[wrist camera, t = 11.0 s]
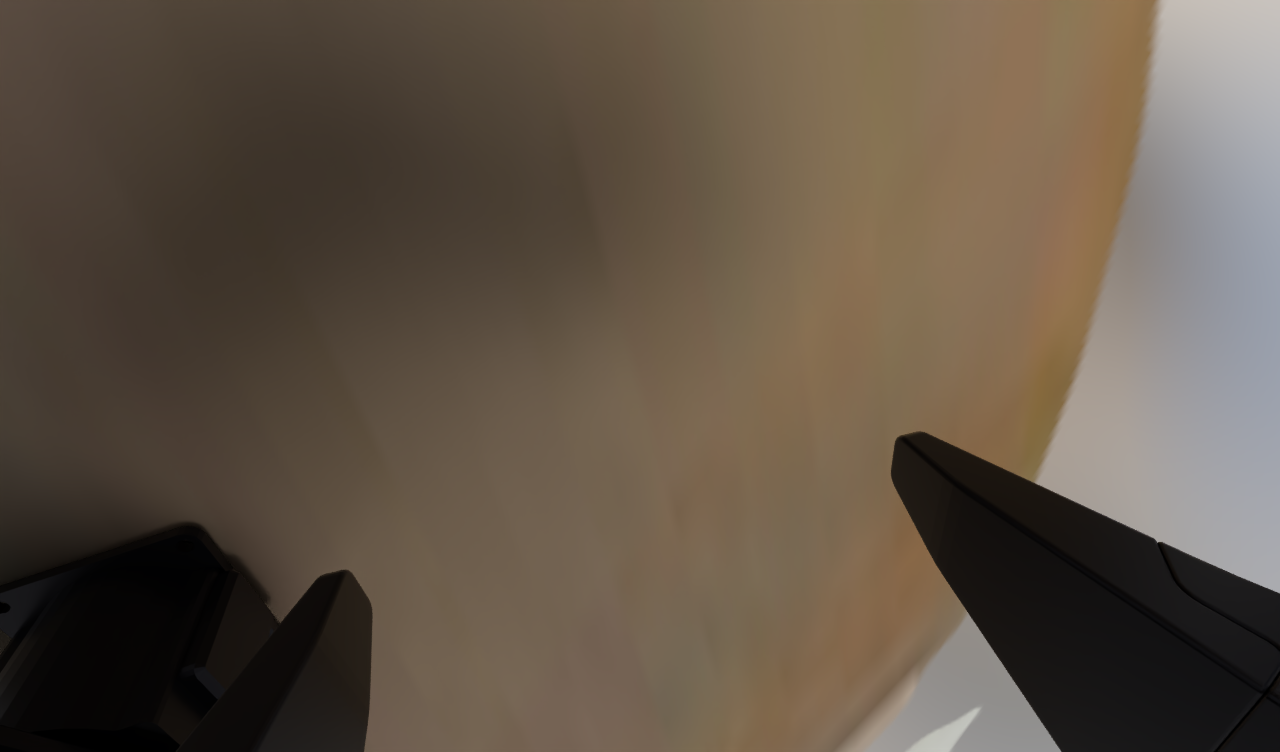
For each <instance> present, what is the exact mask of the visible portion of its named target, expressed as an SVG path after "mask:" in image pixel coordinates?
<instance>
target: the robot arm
mask: <svg viewBox="0 0 1280 752" xmlns="http://www.w3.org/2000/svg"><path fill="white" fill-rule="evenodd" d="M891 477H892V481H893V484H894V486H895V488H896V490H897V492H898V494H899V496H900V498H901V500H902V502H903V504H904V505H905V507H906V509H907V511H908V513H909V515H910V517H911V519H912V521H913V523H914V525H915V526H916V528H917V530H918V532H919V534H920V536H921V538H922V540H923V542H924V544H925V545H926V547H927V549H928V551H929V553H930V555H931V556H932V558H933V560H934V562H935V564H936V565H937V567H938V568H939V570H940V571H941V573H942V575H943V576H944V578H945V579H946V581H947V582H948V584H949V585H950V587H951V588H952V590H953V591H954V593H955V594H956V596H957V597H958V599H959V600H960V601H961V603H962V604H963V606H964V607H965V609H966V610H967V612H968V613H969V615H970V616H971V618H972V619H973V621H974V622H975V624H976V625H977V627H978V628H979V630H980V631H981V633H982V634H983V636H984V637H985V639H986V640H987V642H988V643H989V645H990V646H991V648H992V649H993V650H994V652H995V654H996V655H997V657H998V658H999V660H1000V661H1001V662H1002V664H1003V665H1004V667H1005V668H1006V670H1007V671H1008V673H1009V674H1010V676H1011V677H1012V679H1013V680H1014V682H1015V683H1016V685H1017V686H1018V688H1019V689H1020V691H1021V692H1022V694H1023V695H1024V697H1025V698H1026V700H1027V701H1028V702H1029V704H1030V705H1031V707H1032V709H1033V710H1034V712H1035V713H1036V715H1037V716H1038V717H1039V719H1040V721H1041V722H1042V723H1043V725H1044V726H1045V728H1046V729H1047V731H1048V732H1049V734H1050V735H1051V737H1052V738H1053V740H1054V741H1055V743H1056V744H1057V746H1058V747H1059V749H1060V750H1061V752H1280V593H1277V592H1275V591H1273V590H1270V589H1268V588H1265V587H1263V586H1260V585H1258V584H1256V583H1253V582H1250V581H1248V580H1246V579H1243V578H1241V577H1238V576H1236V575H1234V574H1231V573H1229V572H1227V571H1225V570H1223V569H1220V568H1218V567H1216V566H1213V565H1211V564H1209V563H1207V562H1205V561H1202V560H1200V559H1198V558H1196V557H1193V556H1191V555H1189V554H1187V553H1185V552H1182V551H1180V550H1178V549H1176V548H1174V547H1172V546H1170V545H1167V544H1165V543H1163V542H1158V543H1157V541H1156V540H1155V539H1154V538H1152V537H1150V536H1148V535H1145V534H1143V533H1141V532H1139V531H1137V530H1135V529H1133V528H1130V527H1128V526H1126V525H1124V524H1122V523H1120V522H1117V521H1115V520H1113V519H1111V518H1109V517H1107V516H1104V515H1102V514H1100V513H1098V512H1096V511H1094V510H1091V509H1089V508H1087V507H1085V506H1083V505H1081V504H1079V503H1076V502H1074V501H1072V500H1070V499H1068V498H1066V497H1063V496H1061V495H1059V494H1057V493H1055V492H1053V491H1050V490H1048V489H1046V488H1044V487H1042V486H1040V485H1037V484H1035V483H1033V482H1031V481H1029V480H1027V479H1025V478H1022V477H1020V476H1018V475H1016V474H1014V473H1012V472H1010V471H1007V470H1005V469H1003V468H1001V467H999V466H997V465H994V464H992V463H990V462H988V461H986V460H984V459H981V458H979V457H977V456H975V455H973V454H971V453H969V452H966V451H964V450H962V449H960V448H958V447H956V446H953V445H951V444H949V443H947V442H945V441H943V440H940V439H938V438H936V437H934V436H932V435H930V434H928V433H925V432H921V431H918V432H913V433H909V434H905V435H901V436H899V437H898V438H897V439H896V441H895V445H894V452H893V460H892V467H891ZM182 540H187V541H191V542H192V544H187V543H184V542H182ZM1 602H5V603H7V604H5V603H1ZM0 629H1V630H2V631H3V632H5V633H6V634H7V635H8V636H9V637H10V638H12V639H11V641H10V642H9V644H8V645H7V647H6V648H5V649H4V651H3V652H2V654H1V655H0V752H364V747H365V740H366V733H367V726H368V717H369V705H370V682H371V649H372V607H371V603H370V601H369V599H368V597H367V595H366V594H365V592H364V591H363V589H362V588H361V586H360V584H359V583H358V581H357V580H356V578H355V577H354V575H353V574H352V573H351V572H350V571H349V570H340V571H336V572H332V573H328V574H324V575H322V576H320V577H319V578H317V579H316V580H315V582H314V583H313V584H312V585H311V587H310V588H309V589H308V590H307V591H306V593H305V594H304V595H303V596H302V598H301V599H300V600H299V601H298V602H297V604H296V605H295V606H294V607H293V609H292V610H291V611H290V612H289V613H288V615H287V616H286V617H285V618H284V620H283V621H282V622H281V623H280V624H279V626H278V624H277V623H276V622H275V620H274V616H273V614H272V612H271V611H270V610H269V609H268V607H267V606H266V605H265V604H264V602H263V601H262V600H261V598H260V597H259V596H258V595H257V593H256V592H255V591H254V590H253V588H252V587H251V586H250V585H249V583H248V582H247V581H246V579H245V578H244V577H243V576H242V574H241V573H239V572H238V571H236V570H234V569H233V567H232V566H231V565H230V564H229V562H228V561H227V560H226V559H225V557H224V556H223V555H222V554H221V552H220V551H219V550H218V549H217V547H216V546H215V545H214V543H213V542H212V541H211V540H210V538H209V537H208V536H207V535H206V533H205V532H204V531H202V530H201V529H199V528H196V527H191V526H185V527H180V528H177V529H174V530H171V531H168V532H165V533H162V534H159V535H156V536H153V537H150V538H146V539H143V540H140V541H137V542H134V543H131V544H128V545H125V546H122V547H119V548H116V549H113V550H110V551H107V552H104V553H100V554H97V555H94V556H91V557H88V558H85V559H82V560H79V561H76V562H73V563H70V564H67V565H64V566H61V567H58V568H55V569H51V570H48V571H45V572H42V573H39V574H36V575H33V576H30V577H27V578H24V579H21V580H18V581H15V582H12V583H9V584H6V585H2V586H0Z"/></svg>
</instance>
